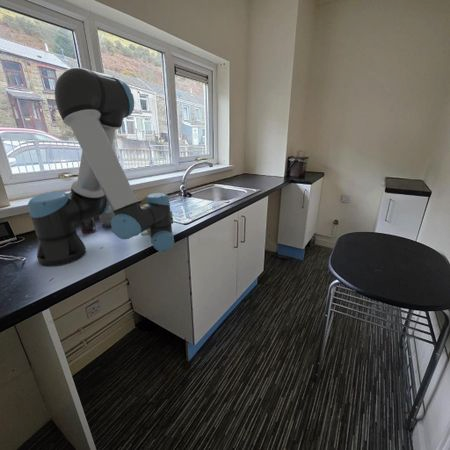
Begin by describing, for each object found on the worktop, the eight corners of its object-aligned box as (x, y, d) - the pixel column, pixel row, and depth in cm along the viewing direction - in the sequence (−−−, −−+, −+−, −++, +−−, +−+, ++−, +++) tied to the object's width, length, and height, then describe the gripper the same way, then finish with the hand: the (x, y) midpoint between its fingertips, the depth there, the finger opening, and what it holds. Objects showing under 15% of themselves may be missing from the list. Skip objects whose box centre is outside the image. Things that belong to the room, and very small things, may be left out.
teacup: (106, 229, 114) (103, 213, 111) (97, 224, 121) (94, 209, 118) (133, 222, 124) (131, 207, 121) (123, 217, 131) (121, 203, 128)
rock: (139, 214, 128) (156, 208, 134) (132, 200, 129) (150, 195, 135) (136, 221, 138) (153, 215, 143) (130, 207, 138) (146, 202, 144)
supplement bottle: (99, 230, 113) (94, 207, 109) (87, 235, 108) (81, 211, 104) (91, 228, 116) (86, 205, 112) (79, 232, 111) (73, 209, 107)
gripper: (131, 240, 93) (129, 221, 112) (185, 232, 100) (175, 216, 119) (128, 222, 90) (127, 205, 110) (184, 215, 97) (174, 201, 117)
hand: (152, 211), depth 114 cm, fingers open, 9 cm apart
